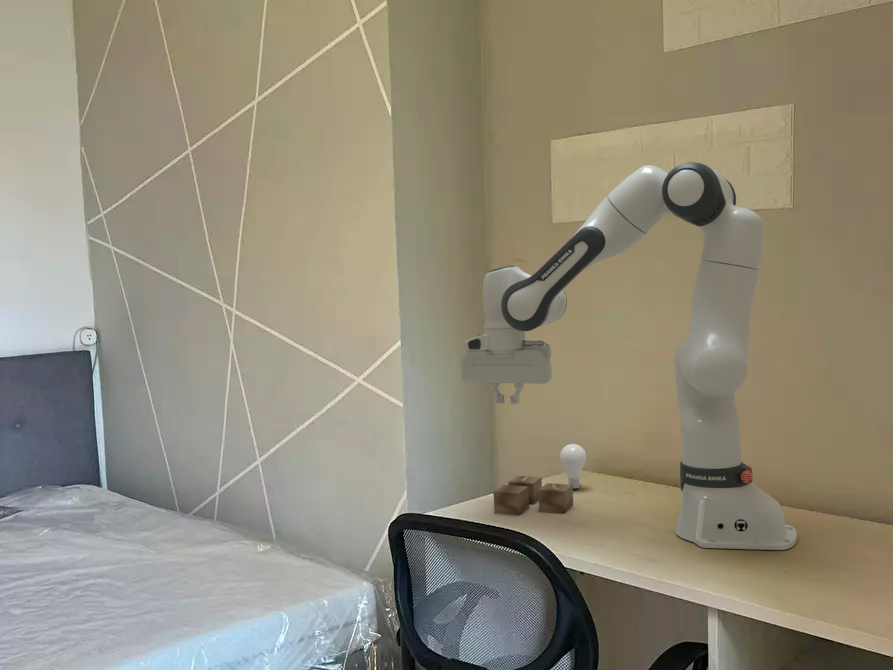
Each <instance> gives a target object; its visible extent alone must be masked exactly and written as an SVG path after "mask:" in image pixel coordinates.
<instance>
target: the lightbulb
mask: <svg viewBox="0 0 893 670" xmlns="http://www.w3.org/2000/svg"><path fill="white" fill-rule="evenodd" d="M559 461H560V464H561V466H562V467H563V468H564V470H565V472H566V475H567V479H568V481H567V482H568V484H569V485H573V489H575V490H577V489H579V488H580V486H581V485H580V484H581V483H580V477H581V474H582V473H581V472H582V469H583V468H584V466H585V464H586V462H587V452H586V450H585V448H584V447H582V446H581V445H579V444H577V443H569V444H567V445H565V446H564V447H562V449H561V451H560V452H559Z"/></svg>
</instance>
